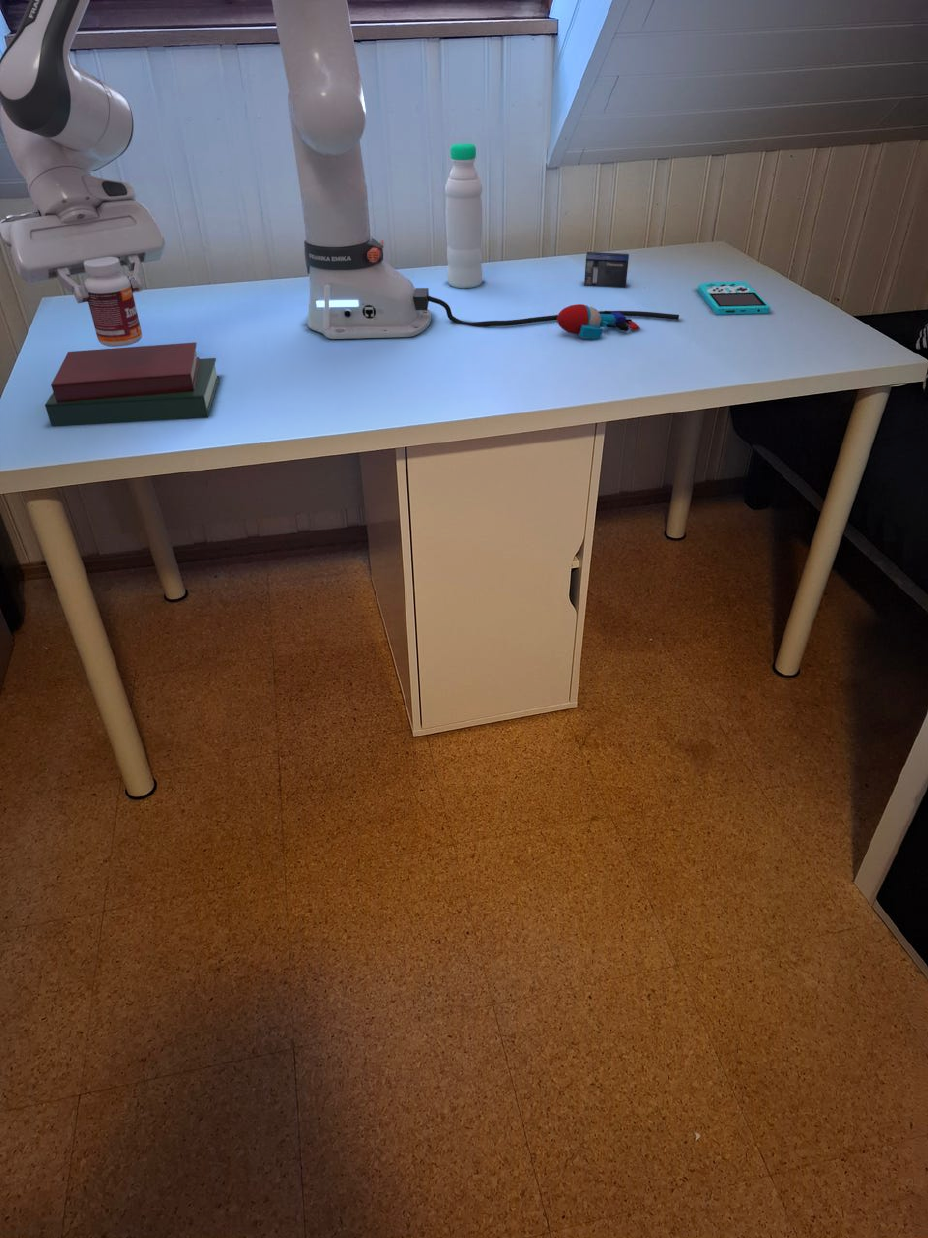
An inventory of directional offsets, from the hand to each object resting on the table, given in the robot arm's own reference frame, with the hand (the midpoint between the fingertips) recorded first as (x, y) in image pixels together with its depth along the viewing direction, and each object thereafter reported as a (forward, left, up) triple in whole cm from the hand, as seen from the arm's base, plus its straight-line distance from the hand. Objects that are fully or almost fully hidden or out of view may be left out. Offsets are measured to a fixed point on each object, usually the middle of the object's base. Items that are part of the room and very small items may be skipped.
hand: (111, 294), depth 121 cm
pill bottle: (+1, 0, -7) cm, 7 cm away
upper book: (0, 0, -12) cm, 12 cm away
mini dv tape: (-68, -65, -16) cm, 96 cm away
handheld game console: (-92, -58, -16) cm, 110 cm away
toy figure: (-67, -38, -16) cm, 79 cm away
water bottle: (-40, -63, -16) cm, 76 cm away
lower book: (0, 0, -16) cm, 16 cm away
